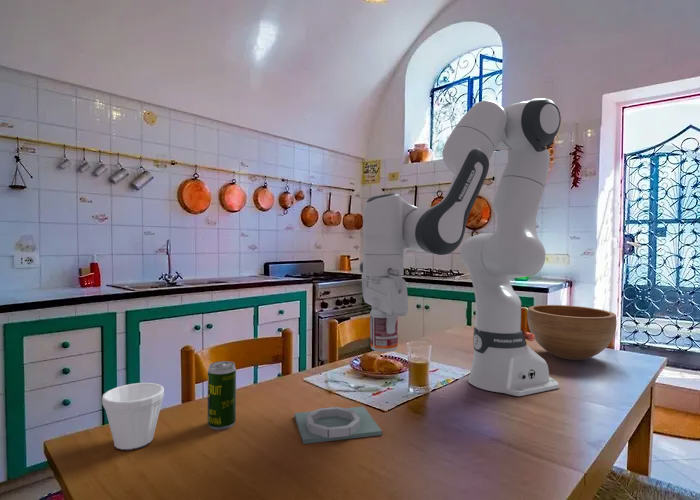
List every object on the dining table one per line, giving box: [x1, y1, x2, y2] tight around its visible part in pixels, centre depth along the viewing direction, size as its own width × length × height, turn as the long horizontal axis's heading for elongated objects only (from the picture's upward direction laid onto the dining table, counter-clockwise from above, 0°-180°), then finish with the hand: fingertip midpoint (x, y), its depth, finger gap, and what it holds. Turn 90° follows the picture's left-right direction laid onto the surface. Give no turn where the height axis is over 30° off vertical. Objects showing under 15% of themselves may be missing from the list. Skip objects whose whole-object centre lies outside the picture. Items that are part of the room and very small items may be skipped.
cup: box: [101, 382, 165, 451], centre depth 77 cm, size 10×10×9 cm
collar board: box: [294, 406, 383, 445], centre depth 85 cm, size 15×12×2 cm
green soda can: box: [207, 360, 237, 431], centre depth 84 cm, size 5×5×12 cm
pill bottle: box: [369, 298, 399, 353], centre depth 95 cm, size 6×6×11 cm
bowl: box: [527, 304, 617, 361], centre depth 136 cm, size 25×25×15 cm
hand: (384, 329), depth 95 cm, fingers closed on pill bottle, 6 cm apart
